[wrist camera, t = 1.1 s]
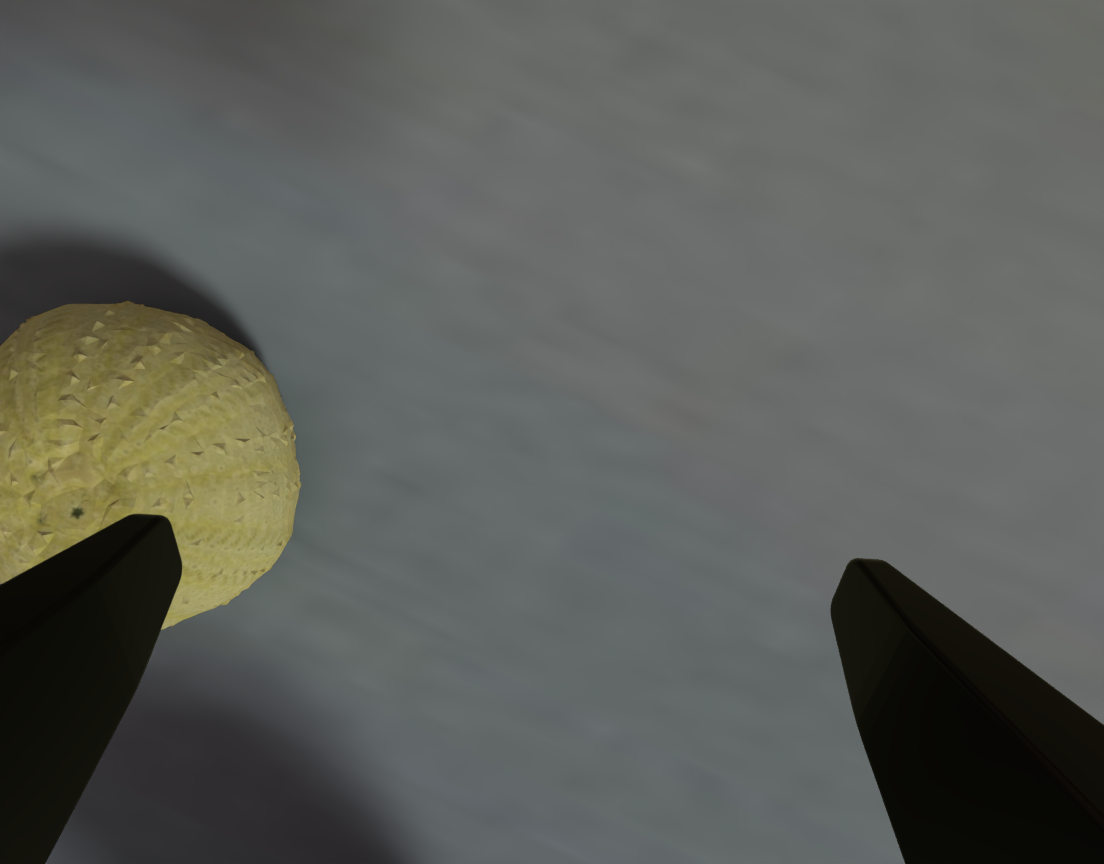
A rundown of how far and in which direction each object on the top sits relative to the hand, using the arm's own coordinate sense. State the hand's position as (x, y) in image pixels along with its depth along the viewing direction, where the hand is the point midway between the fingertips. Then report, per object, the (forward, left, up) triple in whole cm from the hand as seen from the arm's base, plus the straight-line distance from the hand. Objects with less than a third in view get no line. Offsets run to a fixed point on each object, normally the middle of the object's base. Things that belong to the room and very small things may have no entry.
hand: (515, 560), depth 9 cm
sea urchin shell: (-2, +11, -13) cm, 17 cm away
